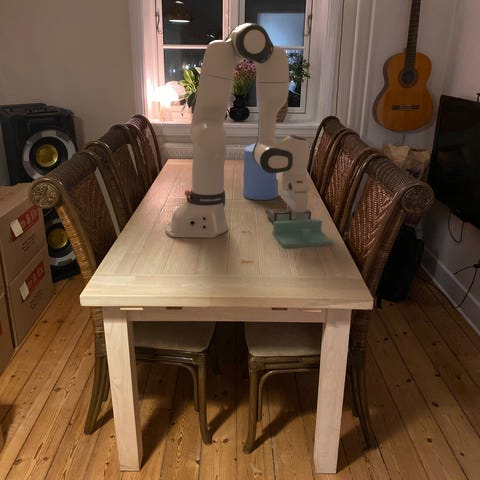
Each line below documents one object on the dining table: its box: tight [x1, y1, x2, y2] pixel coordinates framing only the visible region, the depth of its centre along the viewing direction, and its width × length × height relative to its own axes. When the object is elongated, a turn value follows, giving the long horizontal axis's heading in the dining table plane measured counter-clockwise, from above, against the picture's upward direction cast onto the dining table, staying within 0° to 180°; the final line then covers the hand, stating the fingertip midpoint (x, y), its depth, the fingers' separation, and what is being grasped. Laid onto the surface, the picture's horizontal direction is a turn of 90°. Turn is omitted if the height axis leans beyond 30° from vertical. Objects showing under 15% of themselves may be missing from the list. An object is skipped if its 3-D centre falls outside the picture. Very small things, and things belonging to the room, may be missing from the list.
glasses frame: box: [264, 208, 312, 223], centre depth 192 cm, size 14×13×4 cm
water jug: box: [242, 142, 279, 201], centre depth 220 cm, size 16×16×28 cm
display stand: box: [271, 218, 333, 249], centre depth 174 cm, size 17×14×5 cm
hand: (291, 217), depth 188 cm, fingers closed on glasses frame, 2 cm apart
